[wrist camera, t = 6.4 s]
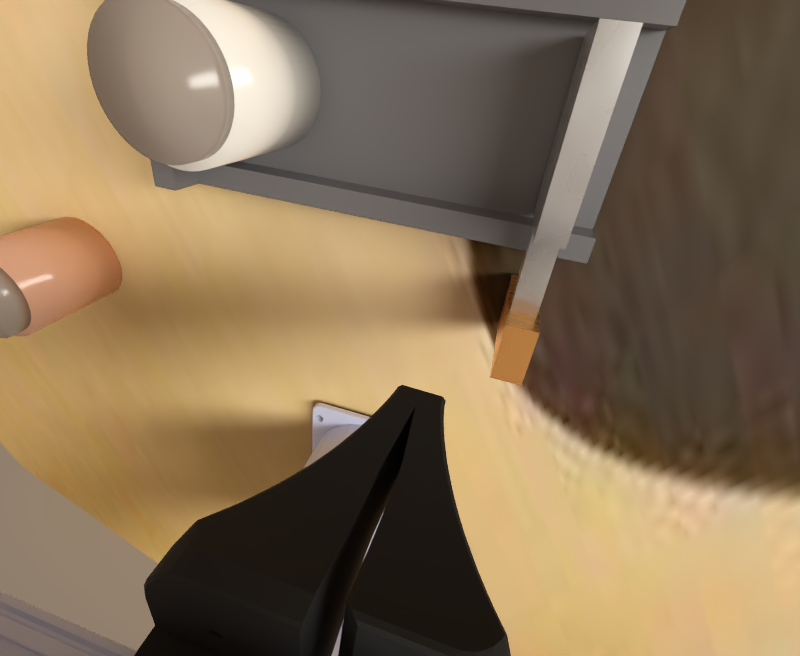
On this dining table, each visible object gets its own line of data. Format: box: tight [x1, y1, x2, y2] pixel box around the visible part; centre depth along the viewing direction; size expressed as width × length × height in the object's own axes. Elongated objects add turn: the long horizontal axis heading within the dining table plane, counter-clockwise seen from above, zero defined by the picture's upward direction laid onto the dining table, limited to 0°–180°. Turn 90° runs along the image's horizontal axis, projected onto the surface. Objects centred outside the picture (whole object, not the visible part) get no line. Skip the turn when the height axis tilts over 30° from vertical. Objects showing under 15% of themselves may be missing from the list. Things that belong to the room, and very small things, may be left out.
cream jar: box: [87, 0, 321, 171], centre depth 15 cm, size 5×5×6 cm
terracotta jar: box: [0, 217, 122, 338], centre depth 24 cm, size 5×5×6 cm
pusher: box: [490, 18, 643, 385], centre depth 15 cm, size 11×1×5 cm, turn 173°
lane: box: [150, 0, 686, 263], centre depth 16 cm, size 8×18×4 cm, turn 83°
